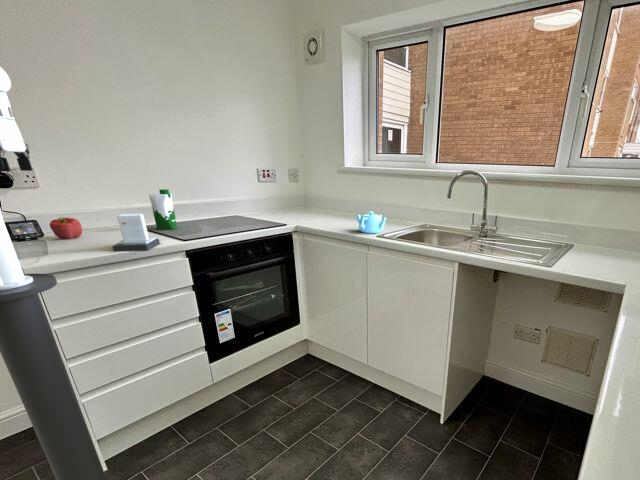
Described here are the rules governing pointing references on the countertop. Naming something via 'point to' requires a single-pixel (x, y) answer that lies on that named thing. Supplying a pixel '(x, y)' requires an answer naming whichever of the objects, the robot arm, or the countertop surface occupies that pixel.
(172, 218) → the milk carton
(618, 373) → the countertop surface
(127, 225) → the small box
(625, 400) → the countertop surface
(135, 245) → the scale
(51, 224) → the vegetable
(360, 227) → the teapot
